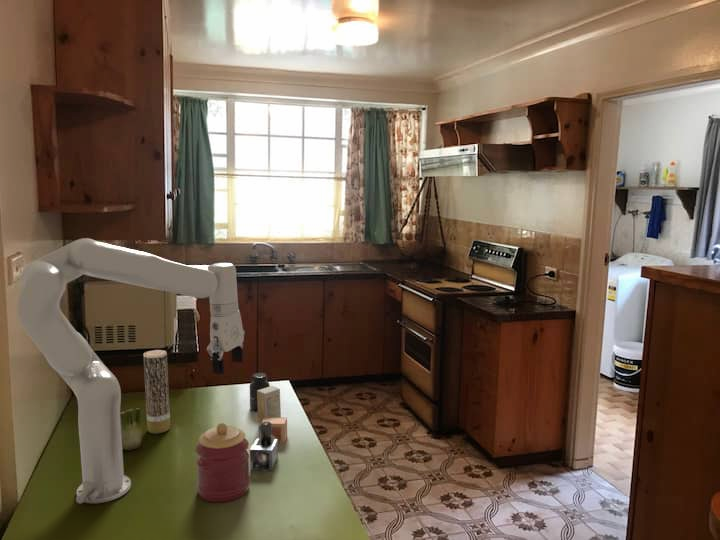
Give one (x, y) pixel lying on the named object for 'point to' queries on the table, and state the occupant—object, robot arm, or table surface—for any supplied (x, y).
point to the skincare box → (268, 403)
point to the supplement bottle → (257, 388)
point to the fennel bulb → (131, 429)
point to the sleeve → (256, 448)
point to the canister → (222, 464)
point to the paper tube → (157, 391)
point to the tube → (265, 443)
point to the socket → (278, 428)
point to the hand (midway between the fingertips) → (228, 367)
